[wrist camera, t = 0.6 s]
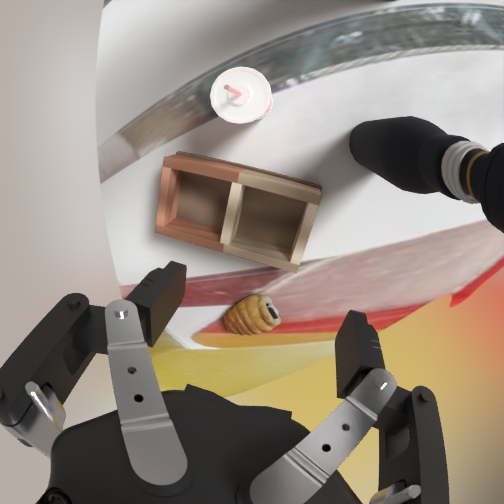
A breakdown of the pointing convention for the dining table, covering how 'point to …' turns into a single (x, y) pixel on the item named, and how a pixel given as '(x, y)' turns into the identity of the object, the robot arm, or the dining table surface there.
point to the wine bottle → (432, 162)
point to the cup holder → (236, 209)
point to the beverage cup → (241, 95)
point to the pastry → (252, 316)
